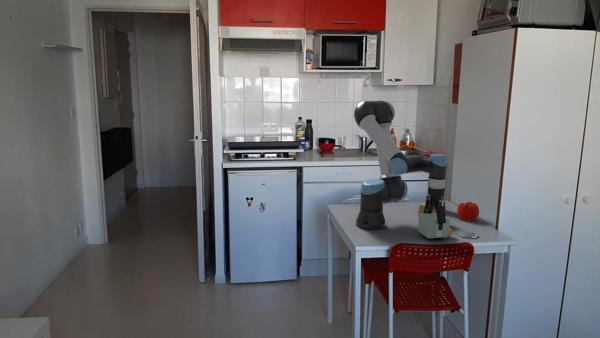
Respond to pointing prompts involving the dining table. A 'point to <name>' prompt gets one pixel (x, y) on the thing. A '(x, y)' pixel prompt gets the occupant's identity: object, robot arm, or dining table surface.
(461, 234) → the disc
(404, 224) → the dining table surface
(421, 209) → the cheese
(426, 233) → the sage green cube
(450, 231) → the ball
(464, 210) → the tomato
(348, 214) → the dining table surface
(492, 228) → the dining table surface
